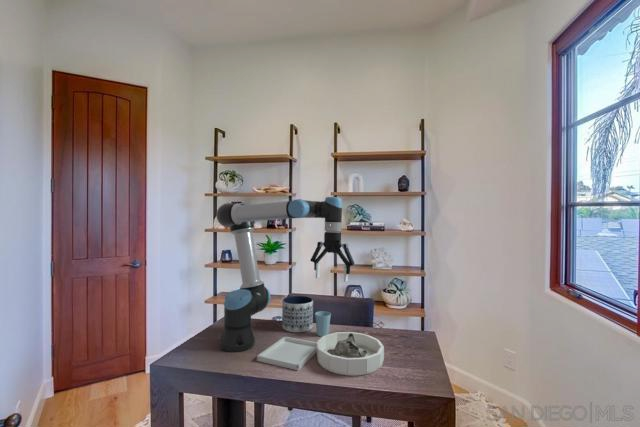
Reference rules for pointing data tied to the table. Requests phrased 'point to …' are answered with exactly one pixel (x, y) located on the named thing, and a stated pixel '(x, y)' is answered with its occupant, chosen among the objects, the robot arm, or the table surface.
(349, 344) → the decorative stone
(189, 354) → the table surface
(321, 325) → the cup
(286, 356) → the tray
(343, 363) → the bowl
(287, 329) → the planter
